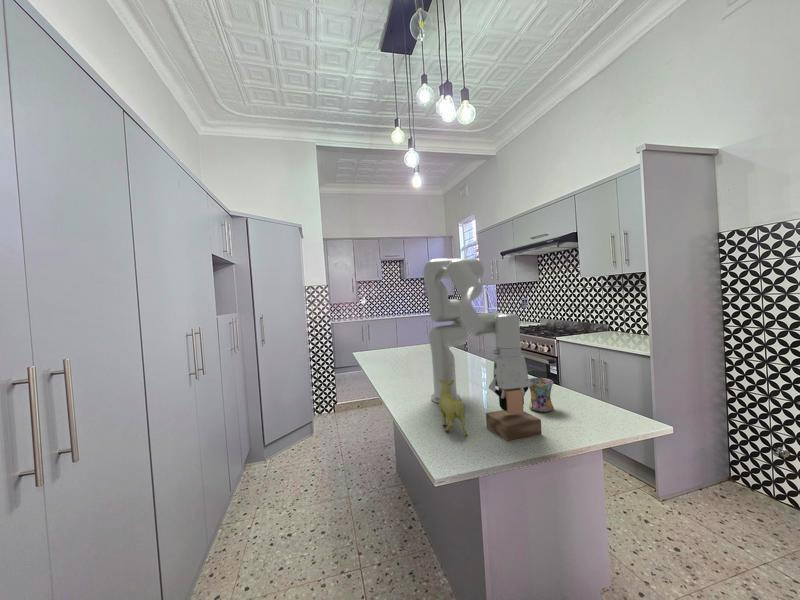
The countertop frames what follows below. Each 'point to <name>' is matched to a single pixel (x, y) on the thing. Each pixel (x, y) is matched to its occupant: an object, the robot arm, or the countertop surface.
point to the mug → (541, 394)
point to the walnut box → (513, 425)
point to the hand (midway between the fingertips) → (511, 407)
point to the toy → (451, 407)
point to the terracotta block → (514, 400)
